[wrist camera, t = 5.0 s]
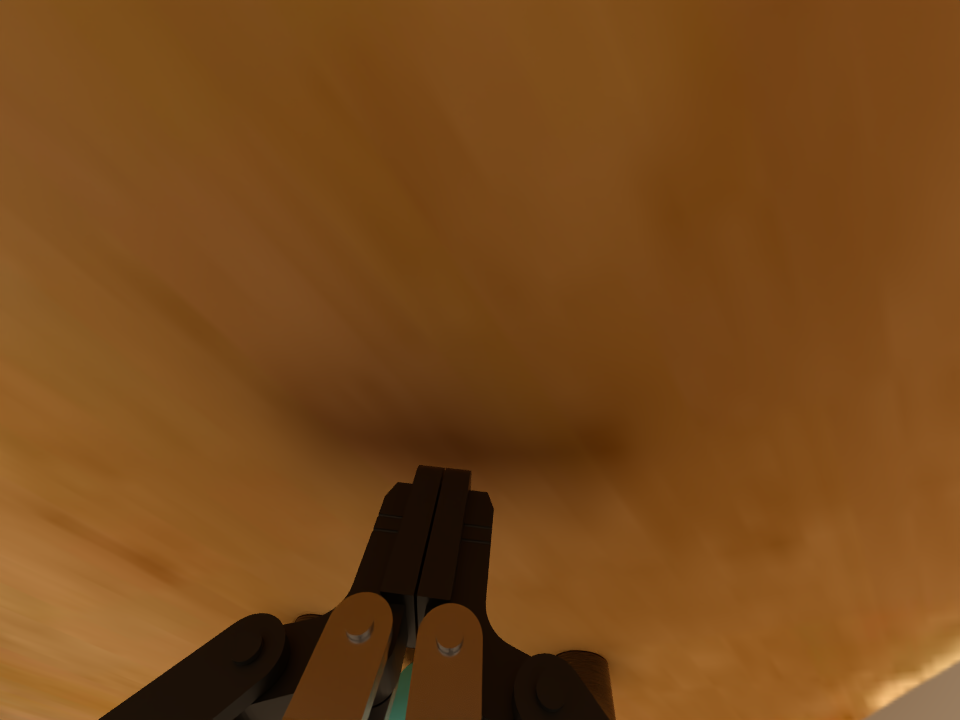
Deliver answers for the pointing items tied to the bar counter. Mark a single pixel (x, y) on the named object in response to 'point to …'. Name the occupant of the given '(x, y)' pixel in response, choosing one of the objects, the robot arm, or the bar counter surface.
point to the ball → (401, 695)
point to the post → (593, 677)
